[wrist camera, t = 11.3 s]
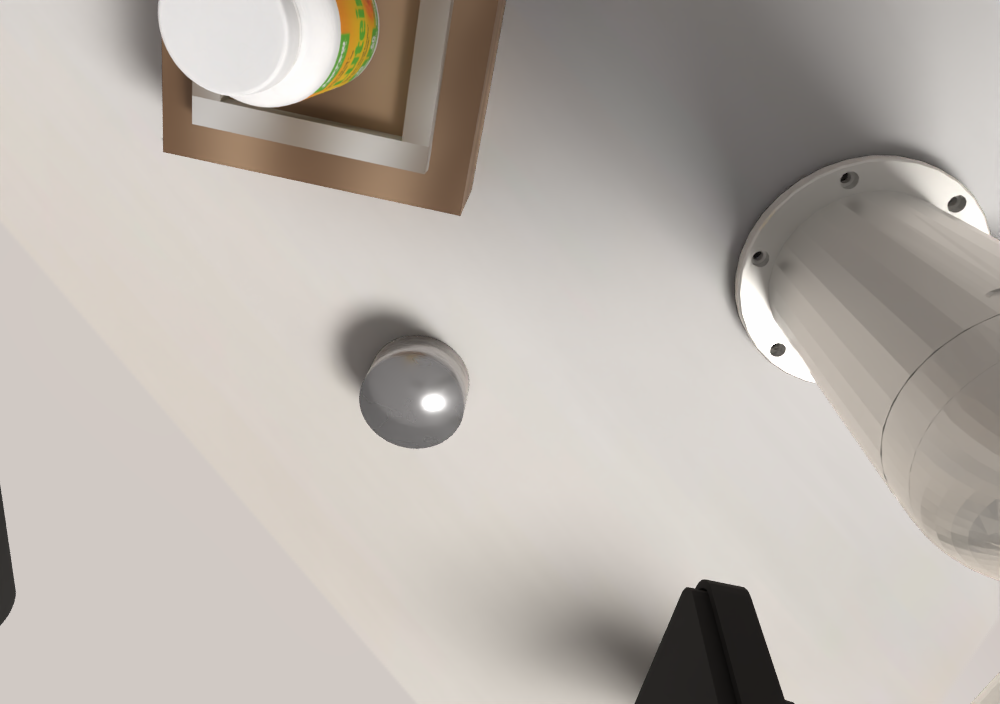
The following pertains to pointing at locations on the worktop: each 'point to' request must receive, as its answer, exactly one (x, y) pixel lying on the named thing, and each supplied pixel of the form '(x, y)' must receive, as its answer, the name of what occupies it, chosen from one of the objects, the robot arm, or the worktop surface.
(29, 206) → the worktop surface
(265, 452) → the worktop surface
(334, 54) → the supplement bottle
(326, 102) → the walnut stand
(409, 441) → the metal tin
